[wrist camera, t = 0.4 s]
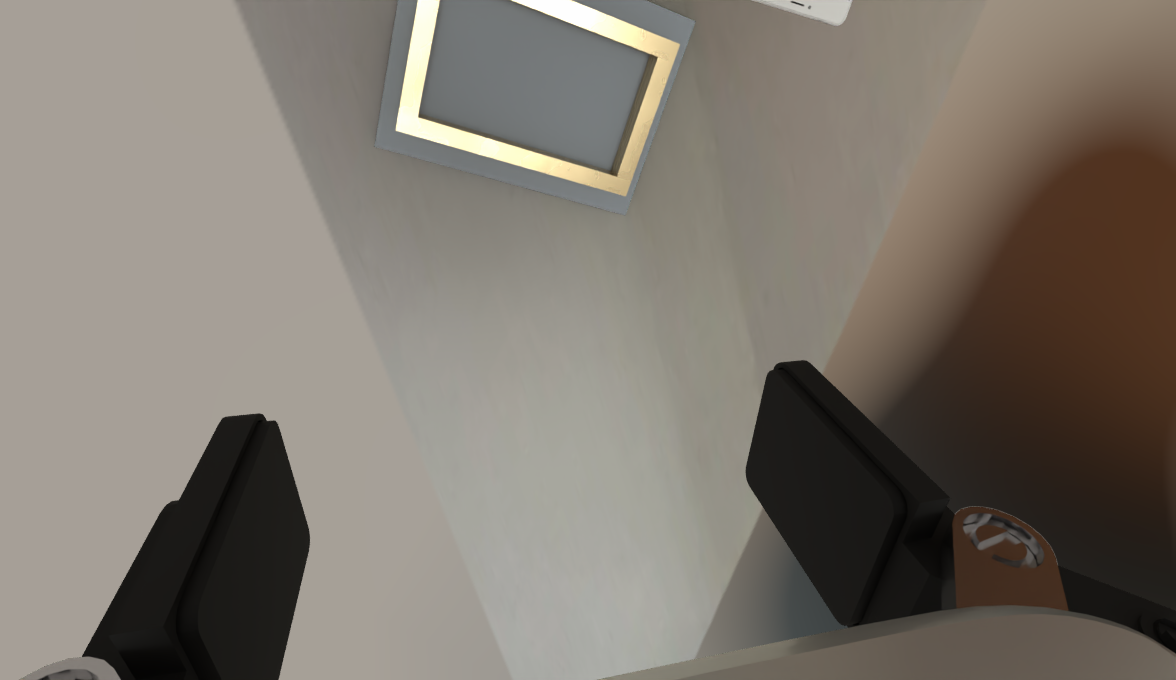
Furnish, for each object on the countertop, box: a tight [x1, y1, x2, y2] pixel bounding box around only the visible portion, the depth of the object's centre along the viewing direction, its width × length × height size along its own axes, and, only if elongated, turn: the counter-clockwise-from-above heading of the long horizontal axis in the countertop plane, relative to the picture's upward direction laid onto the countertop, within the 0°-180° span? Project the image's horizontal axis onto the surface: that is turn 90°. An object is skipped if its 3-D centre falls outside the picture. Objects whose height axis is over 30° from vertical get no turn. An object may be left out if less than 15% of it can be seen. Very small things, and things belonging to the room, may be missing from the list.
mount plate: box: [374, 0, 696, 215], centre depth 33 cm, size 12×16×2 cm
